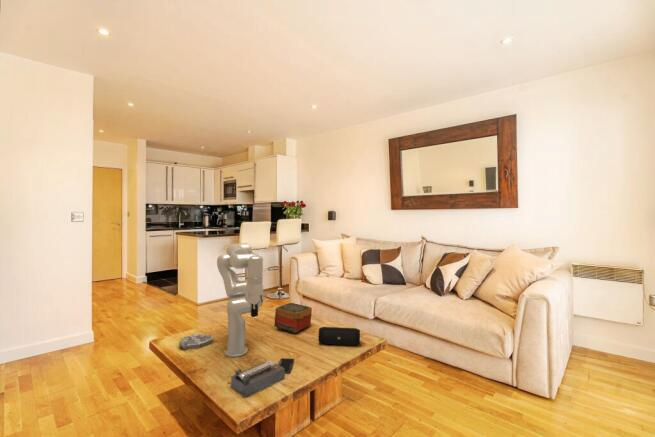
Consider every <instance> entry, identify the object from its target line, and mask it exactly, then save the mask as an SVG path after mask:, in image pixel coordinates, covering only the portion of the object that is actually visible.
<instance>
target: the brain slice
mask: <svg viewBox="0 0 655 437" xmlns="http://www.w3.org/2000/svg"><path fill="white" fill-rule="evenodd" d="M213 340H214V336H213V335H212V334H207V333H206V334H205V333H195V334H191V335H187V336H184V337H183V338H181V339H180V341H179V342H178V345H179V346H180V347H181V348H182V349H183V350H185V349H186V350H194V349H199V348H203V347H205V346H208V345H209V344H211V343H212V342H213Z"/></svg>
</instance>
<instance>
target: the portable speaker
mask: <svg viewBox="0 0 655 437" xmlns="http://www.w3.org/2000/svg"><path fill="white" fill-rule="evenodd" d="M318 342H319V343H321V344H323V345H325V344H326V345H338V344H343V346H344V345H345V346H358V345H360V344H361V330H360V329H358V328H356V327H337V326H336V327H335V326H333V327H332V326H321V327H319V329H318Z"/></svg>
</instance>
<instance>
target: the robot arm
mask: <svg viewBox="0 0 655 437" xmlns="http://www.w3.org/2000/svg"><path fill="white" fill-rule="evenodd" d="M225 251H226V253H225V254H220V255H219V256H218V257H217V258H216V265H217V266H216V267H217V269H218V272H219V274H220V276H221V277H222V280H223V285H224V290H225V294H226V296H227V297H228V298H229V300H228V301H227V303H226V311H227V312H226V313H227V323H228V324H227V325H228V326H227V343H226V346H227V348H226V350H225V351H224V354H225V356H226V357H228V358H229V357H230V358H238V357H242V356H244V355H246V354H247V353H248V351H249V350H248V349H249V348H248V347H246V320H245V318H244V317H243V316H242V315H244V314H250V317H252V318H255V317H257V316H258V315H259V309H260V307H262V306H263V303H264V299H265V298H264V294H265V293H264V284H263V279H264V274H263V273H264V272H263V270H264V258H263V256H262V255H260V254H258V253H255V252H254V253H253V248H252V246H251V244H249V243H247V242H244V243H243V242H242V243H240V242H239V243H232V244H230V245H228V246H227V247H226V250H225ZM232 268H234V269H236V270H237V269H238V270H241V269H242V270H243V269H247V276H246V278H247V279H245V280H239V276H238V274H237V273H236V271H234V270H233V269H232Z"/></svg>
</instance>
